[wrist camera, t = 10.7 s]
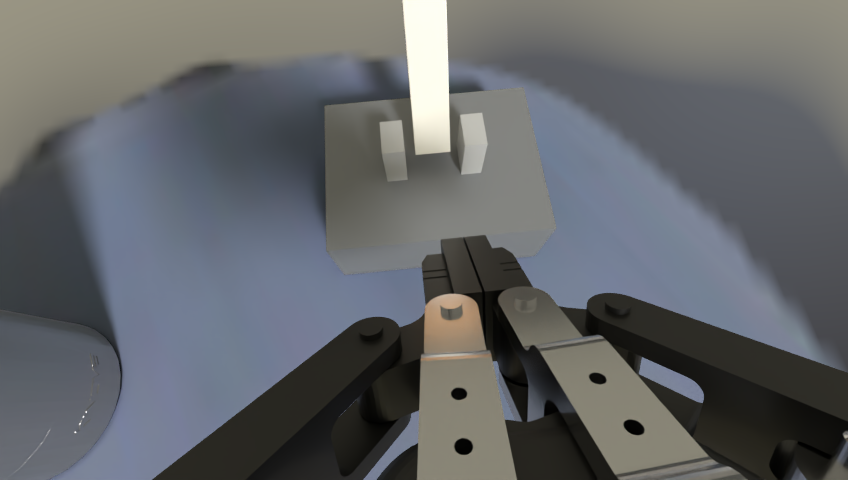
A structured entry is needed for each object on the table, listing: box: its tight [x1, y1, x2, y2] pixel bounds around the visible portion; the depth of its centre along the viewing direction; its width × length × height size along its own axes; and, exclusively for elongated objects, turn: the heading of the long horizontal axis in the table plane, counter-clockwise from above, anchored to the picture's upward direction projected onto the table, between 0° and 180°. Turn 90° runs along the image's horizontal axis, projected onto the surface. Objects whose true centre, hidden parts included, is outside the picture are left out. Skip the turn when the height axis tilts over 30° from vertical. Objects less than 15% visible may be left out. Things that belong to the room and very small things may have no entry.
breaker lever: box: [402, 0, 450, 155], centre depth 20 cm, size 4×2×10 cm
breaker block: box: [324, 87, 556, 275], centre depth 25 cm, size 13×10×8 cm
